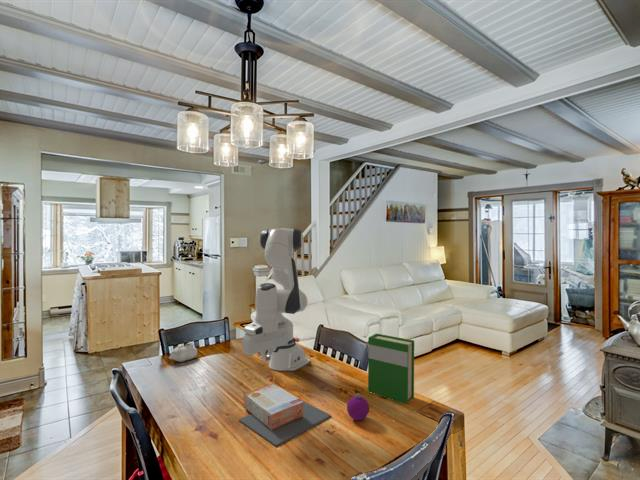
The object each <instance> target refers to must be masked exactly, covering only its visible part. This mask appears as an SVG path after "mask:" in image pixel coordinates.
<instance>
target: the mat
mask: <svg viewBox="0 0 640 480" xmlns="http://www.w3.org/2000/svg"><path fill="white" fill-rule="evenodd" d="M300 400H301V401H303V417H301V418H298V419H296V420H293V421H291V422H289V423H287V424H284V425H282V426H280V427H277V428H275V429H273V430H271V429H270V428H268V427H267V426H266V425H265V424H264V423H262V422H261V421H260V420H259V419H258V418H256V417H255V416H254V415H253V414H252V413H250V414H247V415H245V416H243V417H240V418H238V422H240V423H241V424H243V425H244V426H245V427H247V428H248V429H250V430H252V432H254V433H255V434H257V435H258V436H259V437H261V438H262V439H264V440H265V441H266V442H269V444H271V445H273V446H274V447H275V448H276V447H279V446H281V445H282V444H284V443H286V442H287V441H290V440H291V439H294V438H296V437H297V436H299V435H300V434H302V433H305V432H307V431H308V430H310V429H311V428H313V427H315V426H317V425H319V424H320V423H323V422H324V421H326V420H328V419H330V418H331V417H332V415H331V413H328V412H325V411H324V410H321V409H320V408H318V407H316V406H314V405H312V404H310V403H308V402H307V401H304V400H302V399H300Z"/></svg>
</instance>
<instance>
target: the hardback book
mask: <svg viewBox="0 0 640 480" xmlns="http://www.w3.org/2000/svg"><path fill="white" fill-rule="evenodd" d="M367 341H368V344H367V345H368V348H367V349H368V350H367V352H368V356H367V357H368V358H367V359H368V361H367V362H368V363H367V365H368V367H367V371H368V373H367V374H368V376H367V379H368V380H367V381H368V382H367V388H368V389H367V392H368V391H369V392H372V393H375V394H378V395H382V396H385V397H387V398H386V399H388V398H390V399H389V400H391V399H393V400H392V401H396V402H398V403H402V404H404V403H405V405H408V404H409V400H410V398H411V399H414V398H415V340H414V339H407V338H402V337H397V336H392V335H387V334H381V333H374V334H373V335H370V336H369V337H368V340H367ZM372 393H371V394H372ZM375 394H374V395H375ZM378 395H377V396H378ZM385 397H384V398H385Z"/></svg>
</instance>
